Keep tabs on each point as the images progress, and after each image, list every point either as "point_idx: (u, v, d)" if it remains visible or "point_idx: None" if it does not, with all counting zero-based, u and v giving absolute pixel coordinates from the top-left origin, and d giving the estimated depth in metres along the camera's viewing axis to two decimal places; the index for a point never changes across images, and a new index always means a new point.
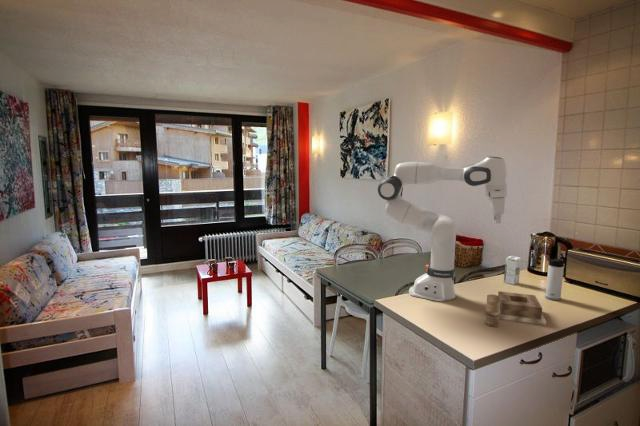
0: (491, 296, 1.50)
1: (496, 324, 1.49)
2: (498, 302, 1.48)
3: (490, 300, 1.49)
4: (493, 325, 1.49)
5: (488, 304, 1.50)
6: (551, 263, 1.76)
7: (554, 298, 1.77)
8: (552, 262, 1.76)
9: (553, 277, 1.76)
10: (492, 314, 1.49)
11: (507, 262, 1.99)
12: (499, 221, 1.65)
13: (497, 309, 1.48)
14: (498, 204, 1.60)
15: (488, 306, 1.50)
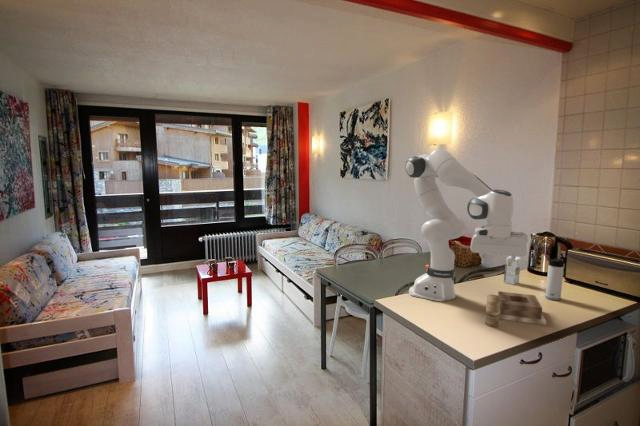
0: (491, 296, 1.50)
1: (496, 324, 1.49)
2: (498, 302, 1.48)
3: (490, 300, 1.49)
4: (493, 325, 1.49)
5: (488, 304, 1.50)
6: (551, 263, 1.76)
7: (554, 298, 1.77)
8: (552, 262, 1.76)
9: (553, 277, 1.76)
10: (492, 314, 1.49)
11: (507, 262, 1.99)
12: (482, 261, 1.49)
13: (497, 309, 1.48)
14: (471, 240, 1.50)
15: (488, 306, 1.50)
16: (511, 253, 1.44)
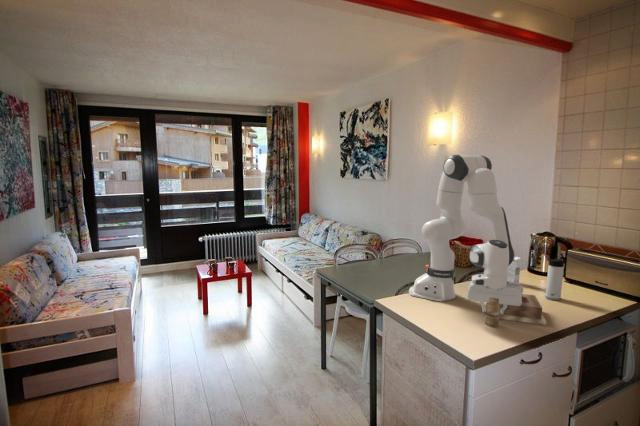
0: None
1: (496, 324, 1.49)
2: (498, 302, 1.48)
3: (490, 300, 1.49)
4: (493, 325, 1.49)
5: (488, 304, 1.50)
6: (551, 263, 1.76)
7: (554, 298, 1.77)
8: (552, 262, 1.76)
9: (553, 277, 1.76)
10: (492, 314, 1.49)
11: None
12: (482, 309, 1.52)
13: (497, 309, 1.48)
14: (468, 288, 1.53)
15: (488, 306, 1.50)
16: (507, 303, 1.47)
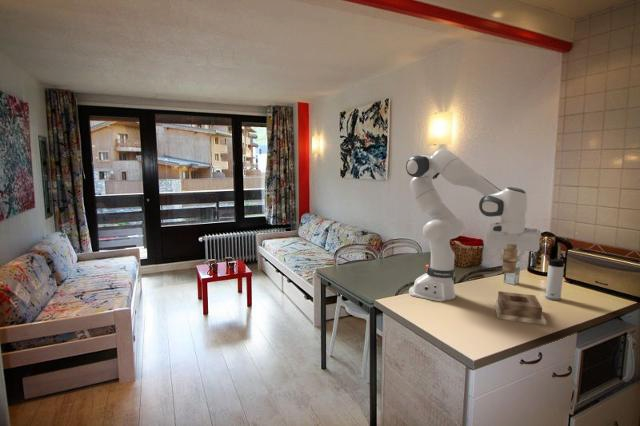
0: None
1: (513, 270, 1.51)
2: None
3: (508, 247, 1.51)
4: (510, 271, 1.51)
5: (505, 251, 1.52)
6: (551, 263, 1.76)
7: (554, 298, 1.77)
8: (552, 262, 1.76)
9: (553, 277, 1.76)
10: (509, 260, 1.51)
11: None
12: (499, 256, 1.54)
13: (514, 255, 1.50)
14: (486, 236, 1.55)
15: (506, 252, 1.52)
16: (524, 249, 1.49)
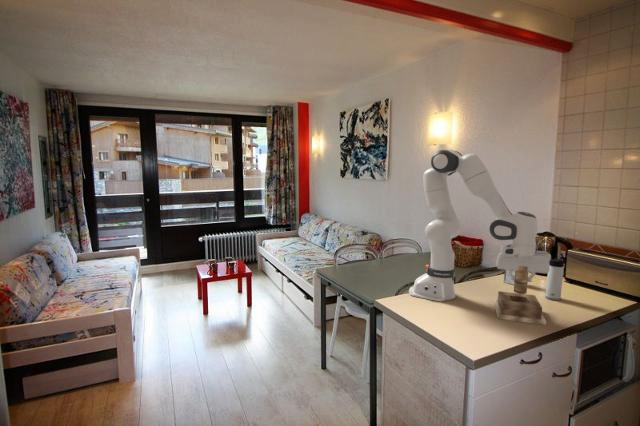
0: None
1: (525, 291, 1.59)
2: None
3: (519, 269, 1.58)
4: (522, 292, 1.59)
5: (517, 272, 1.59)
6: (551, 263, 1.76)
7: (554, 298, 1.77)
8: (552, 262, 1.76)
9: (553, 277, 1.76)
10: (521, 281, 1.58)
11: None
12: (511, 277, 1.61)
13: (526, 277, 1.58)
14: (497, 258, 1.62)
15: (517, 274, 1.59)
16: (535, 270, 1.56)
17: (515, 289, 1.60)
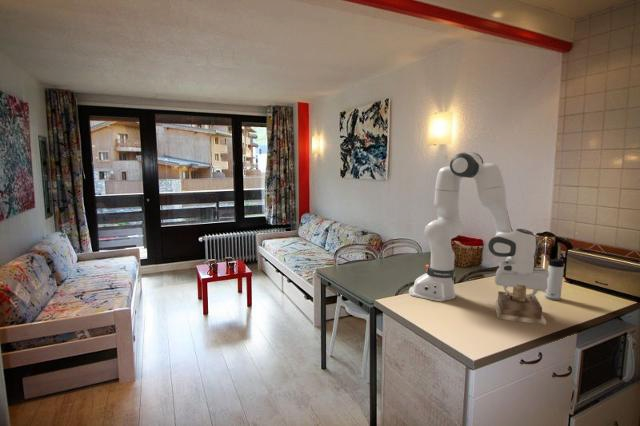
0: None
1: None
2: (524, 289, 1.59)
3: (517, 287, 1.59)
4: None
5: (515, 291, 1.60)
6: (551, 263, 1.76)
7: (554, 298, 1.77)
8: (552, 262, 1.76)
9: (553, 277, 1.76)
10: (519, 300, 1.59)
11: None
12: (505, 293, 1.63)
13: (523, 295, 1.59)
14: (496, 274, 1.64)
15: (515, 292, 1.60)
16: (533, 287, 1.57)
17: None
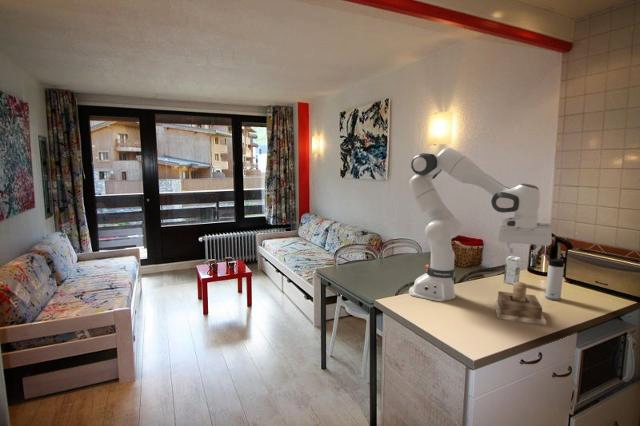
0: (518, 283, 1.61)
1: None
2: (524, 289, 1.59)
3: (517, 287, 1.59)
4: None
5: (515, 291, 1.60)
6: (551, 263, 1.76)
7: (554, 298, 1.77)
8: (552, 262, 1.76)
9: (553, 277, 1.76)
10: (519, 300, 1.59)
11: (507, 262, 1.99)
12: (508, 250, 1.60)
13: (523, 295, 1.59)
14: (499, 231, 1.61)
15: (515, 292, 1.60)
16: (537, 243, 1.55)
17: None
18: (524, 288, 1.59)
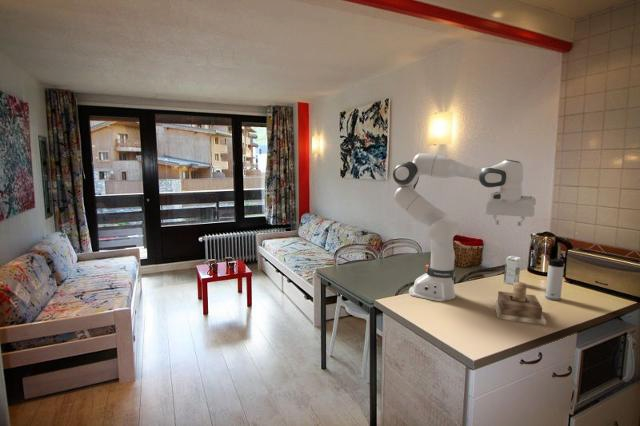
0: (518, 283, 1.61)
1: None
2: (524, 289, 1.59)
3: (517, 287, 1.59)
4: None
5: (515, 291, 1.60)
6: (551, 263, 1.76)
7: (554, 298, 1.77)
8: (552, 262, 1.76)
9: (553, 277, 1.76)
10: (519, 300, 1.59)
11: (507, 262, 1.99)
12: (495, 222, 1.72)
13: (523, 295, 1.59)
14: (486, 204, 1.73)
15: (515, 292, 1.60)
16: (521, 214, 1.67)
17: None
18: (524, 288, 1.59)
